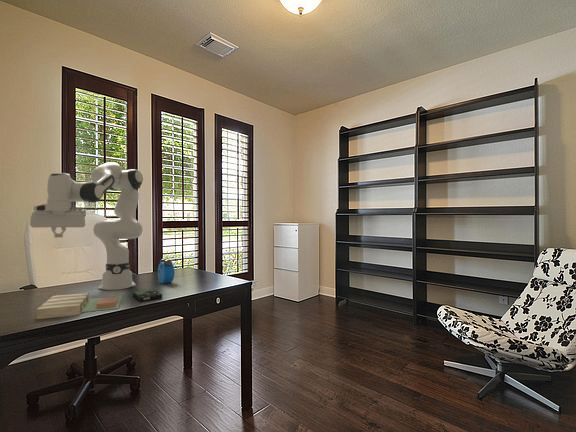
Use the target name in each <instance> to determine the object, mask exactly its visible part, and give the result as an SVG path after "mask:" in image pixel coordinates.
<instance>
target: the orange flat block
mask: <svg viewBox="0 0 576 432" xmlns="http://www.w3.org/2000/svg"><path fill="white" fill-rule="evenodd" d="M108 297H109V298H105V297H99V298H100V299H99V301H98V303H97V308H106V307H115V305H116V302H117V296H108Z"/></svg>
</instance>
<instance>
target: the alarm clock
mask: <svg viewBox="0 0 576 432" xmlns="http://www.w3.org/2000/svg"><path fill="white" fill-rule="evenodd" d="M157 276H158V281H159V283H160V284H167V283H168V284H169V283H170V284H171V283H172V282H173V281H174V278H175V266H174V264H173V261H172V260H171V259H167V258H165V257H164V258H161V259H160V260H159V264H158V268H157Z"/></svg>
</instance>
